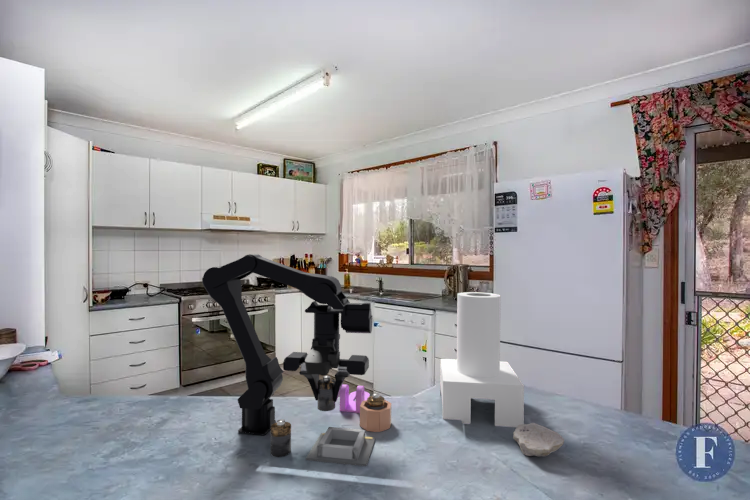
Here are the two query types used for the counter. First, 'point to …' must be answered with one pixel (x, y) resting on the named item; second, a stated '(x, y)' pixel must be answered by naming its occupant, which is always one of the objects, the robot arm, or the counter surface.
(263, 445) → the counter surface
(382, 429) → the cup
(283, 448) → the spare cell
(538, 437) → the fossil
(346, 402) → the bracket
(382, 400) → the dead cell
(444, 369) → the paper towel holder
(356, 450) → the cradle
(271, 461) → the counter surface
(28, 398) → the counter surface
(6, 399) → the counter surface
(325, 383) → the cell
